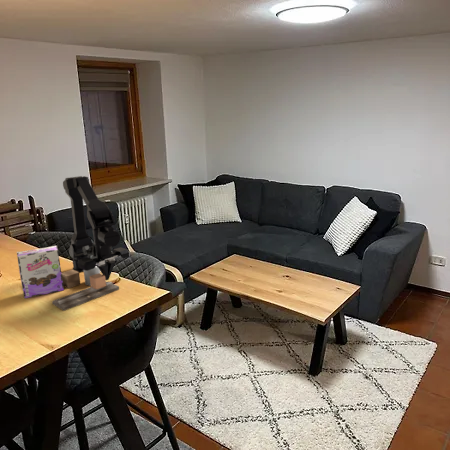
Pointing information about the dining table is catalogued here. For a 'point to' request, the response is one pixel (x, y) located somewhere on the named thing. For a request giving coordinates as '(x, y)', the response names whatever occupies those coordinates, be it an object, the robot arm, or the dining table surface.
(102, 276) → the peach cube
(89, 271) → the grey rounded cylinder
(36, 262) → the candy box
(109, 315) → the dining table surface
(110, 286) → the board
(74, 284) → the walnut block
